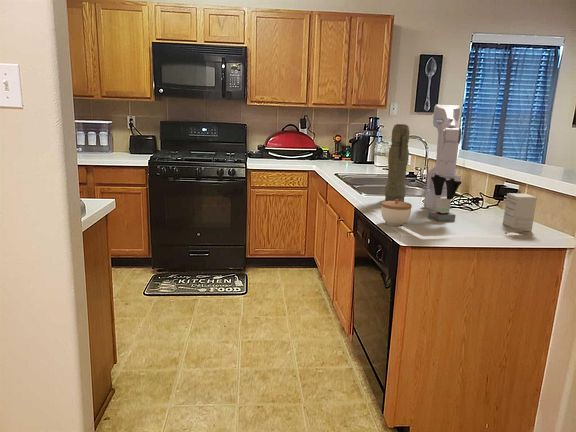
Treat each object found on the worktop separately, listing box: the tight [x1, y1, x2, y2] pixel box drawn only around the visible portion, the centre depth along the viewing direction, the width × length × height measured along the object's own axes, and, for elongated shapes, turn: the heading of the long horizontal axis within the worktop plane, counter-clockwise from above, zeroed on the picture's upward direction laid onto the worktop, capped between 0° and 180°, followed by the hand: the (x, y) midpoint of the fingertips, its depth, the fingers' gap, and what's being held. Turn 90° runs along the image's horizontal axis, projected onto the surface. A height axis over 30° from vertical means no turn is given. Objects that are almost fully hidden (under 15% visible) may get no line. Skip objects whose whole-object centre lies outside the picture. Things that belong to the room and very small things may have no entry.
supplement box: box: [502, 192, 538, 232], centre depth 161 cm, size 7×7×13 cm
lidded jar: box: [380, 199, 413, 227], centre depth 161 cm, size 11×11×9 cm
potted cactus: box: [384, 123, 410, 202], centre depth 201 cm, size 9×12×35 cm
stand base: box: [427, 210, 456, 223], centre depth 168 cm, size 16×18×4 cm
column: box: [434, 197, 452, 213], centre depth 167 cm, size 4×4×6 cm
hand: (443, 197), depth 166 cm, fingers open, 7 cm apart
